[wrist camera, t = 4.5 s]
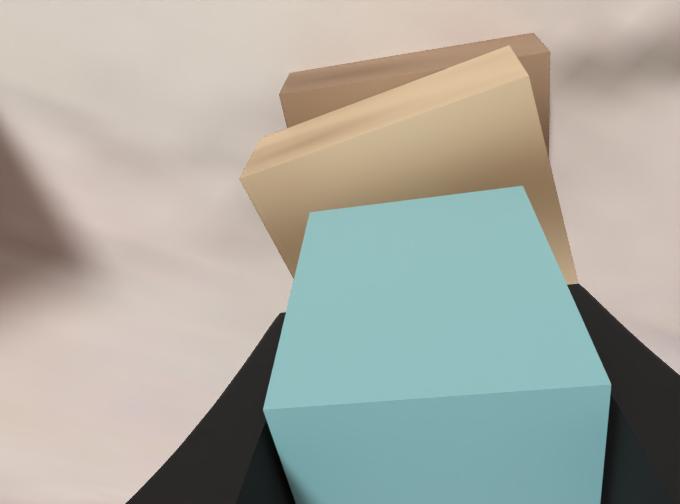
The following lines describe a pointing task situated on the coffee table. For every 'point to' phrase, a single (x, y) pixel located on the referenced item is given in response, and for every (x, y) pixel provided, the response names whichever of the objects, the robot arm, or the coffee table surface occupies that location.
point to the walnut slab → (406, 77)
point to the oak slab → (411, 153)
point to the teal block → (436, 360)
